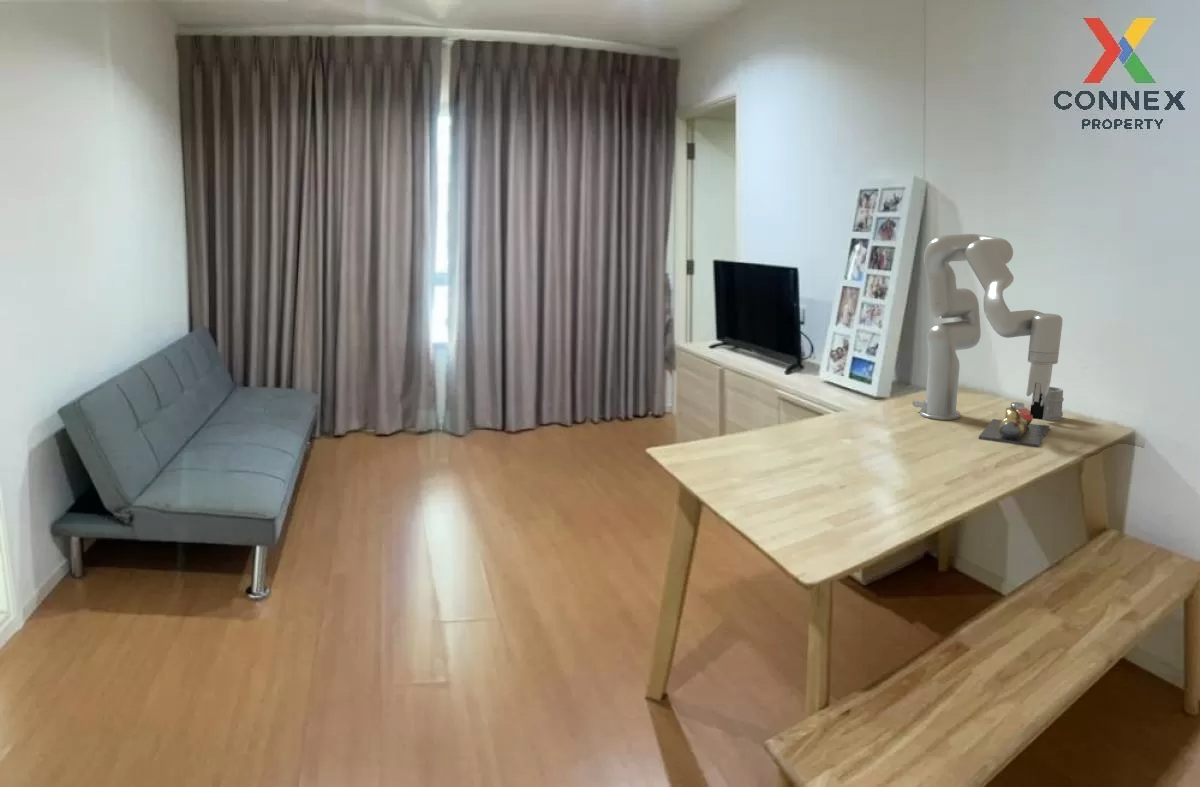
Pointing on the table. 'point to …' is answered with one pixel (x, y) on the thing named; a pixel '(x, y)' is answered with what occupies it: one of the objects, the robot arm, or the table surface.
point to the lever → (1021, 410)
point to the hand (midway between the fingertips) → (1036, 418)
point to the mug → (1053, 404)
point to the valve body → (1015, 430)
